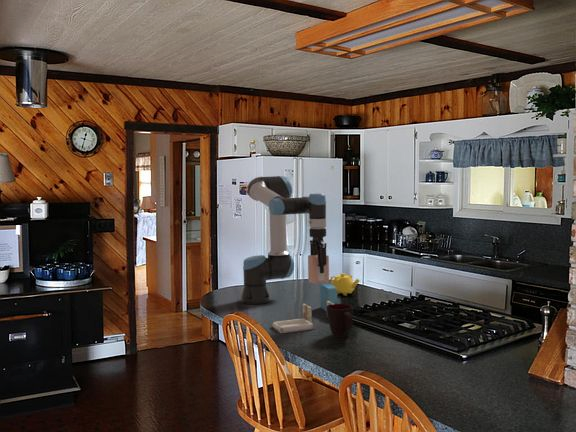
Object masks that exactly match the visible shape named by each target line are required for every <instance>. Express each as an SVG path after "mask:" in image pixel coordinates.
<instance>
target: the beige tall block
mask: <svg viewBox="0 0 576 432" xmlns="http://www.w3.org/2000/svg"><path fill="white" fill-rule="evenodd" d="M329 257H330V256H329V255H328V254H326V265H325V266H324V280H320V281H319V280H318V266H317V265H319V263H318V255H310V254H308V255H307V272H308V273H307V274H308V275H307V277H308V278H307V279H308V280H307V281H308V282H309V283H310V284H314V285H315V284H325V283H329V282H330V264H329V263H330V261H329V259H330V258H329Z"/></svg>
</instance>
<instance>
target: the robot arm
mask: <svg viewBox="0 0 576 432" xmlns="http://www.w3.org/2000/svg"><path fill="white" fill-rule="evenodd" d="M292 186H293V185H292V183H291V181H290V179H289V178H288V177H286V176H283V175H282V176H281V175H280V176H279V175H276V176H275V175H274V176H257V177H255V178H254V179H252V180H250V181H249V183H248V185H247V188H246V192H247V195H248V196H249V197H250V198H251V199H252V200H254V201H256V202H260V203H262V204H263V205H264V206H266V207H268V211H269V213H268V215H269V239H270V240H269V241H270V242H269V243H270V245H269V246H270V249H269V250H270V251H269V252H268V253H267V257H266V256H265V255H252V256H249V257H246V258H245V259H243V265H242V270H243V271H242V272H243V288H242V293H241V296H240V303H242V304H245V303H246V305H261V304H266V303H269V302H270V301H271V298H270V297H271V296H270V293H269V289H268V288H267V281H270V280H271V281H272V280H284V279H287V278H290V277H291V276H292V275H293V274H294V270H295V261H294V257H293V256H292V255H290V252H289V251H288V250H287V249H288V248H287V243H288V242H287V219H286V218H287V216H286V215H301V214H308V220H309V221H308V225H309V230H308V231H309V232H308V233H309V237H310V238H312V240H309V244H310V245H309V246H310V249H309V250H310V252H309V253H310V254H309V255H318V263H319V265H317V266H318V280H319V281H320V280H324V266H325V265H326V255H327V242H324V238H325V237H326V236H327V228H326V227H327V199H326V195H325V193H319V192H318V193H310V194H309V195H308V196H301V197H292V194H293V187H292Z"/></svg>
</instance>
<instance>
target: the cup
mask: <svg viewBox="0 0 576 432" xmlns="http://www.w3.org/2000/svg"><path fill="white" fill-rule="evenodd" d="M353 313H354V307H353V306H352V305H350V304H348V303H337V304H332V305H328V306H327V312H326V316H327V315H328V316H327V319H328V320H327V321H328V325H329V329H330V332H331V335H332V336H333V337H335V338H346V337H348V336H349V333H350V331H352V328H353V316H354V315H353Z"/></svg>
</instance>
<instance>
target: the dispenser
mask: <svg viewBox="0 0 576 432" xmlns="http://www.w3.org/2000/svg"><path fill="white" fill-rule="evenodd" d="M332 304H334V303H332V302H330V301H327V306H328V305H332ZM312 312H313V311H312V307H311V306H310V305H308V304H306V303H302V318H304V319H306V320H308V321H309V322H311V323H312V322H313V321H312ZM326 317H328V315H327V314H326ZM312 324H313V323H312Z"/></svg>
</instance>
